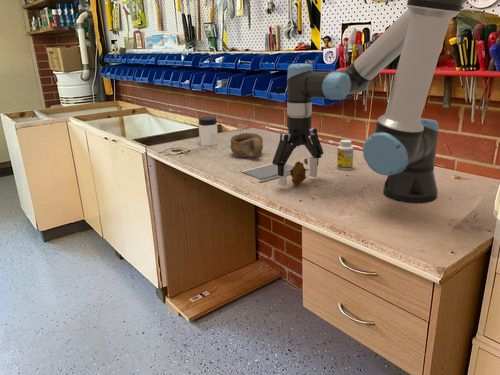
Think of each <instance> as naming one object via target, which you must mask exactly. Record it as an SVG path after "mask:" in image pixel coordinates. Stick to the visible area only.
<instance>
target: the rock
mask: <svg viewBox="0 0 500 375" xmlns="http://www.w3.org/2000/svg"><path fill="white" fill-rule="evenodd" d="M304 165H309V163H308V158H305V159H304V160H303V162H300V161H296V162H295V163H294V165H293V166H294V167H293V168H292V170H290V172H289V173H291V174H290V175H289V176H291V177H292V178H291V182H292V184H294V185H295V186H297V187H299V186H300V185H301V184H302V182H303V181H304V180H306V179H307V177H306V171H307V170H305V169H306V167H304Z"/></svg>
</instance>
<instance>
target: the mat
mask: <svg viewBox="0 0 500 375" xmlns="http://www.w3.org/2000/svg"><path fill="white" fill-rule="evenodd" d="M285 166H287V173H290V170H292V168H293V167H294V166H295V165H290V164H287V163H286V164H285ZM239 173H242V174H244V175H247V176H249V177H253V178H256V179H259V181H262V180H265V179H269V178H273V177H276V176H278V166H277V165H274V164H272V162H271V163H268V164H263V165H259V166H256V167H251V168H247V169H244V170H240V172H239Z"/></svg>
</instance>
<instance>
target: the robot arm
mask: <svg viewBox="0 0 500 375" xmlns="http://www.w3.org/2000/svg"><path fill="white" fill-rule="evenodd" d="M467 1H468V0H407V1H406V7H407V9H406V10H405V11H404V12H403V13H402V14H401V15H400V16H398V18H397V19H396V20H395V21H394V22H393V23H392V24H391V25H390V26H389V27H388V28H387V29H385V31H384V32H382V34H381V35H379V37H378V38H376V40H374V42H373V43H371V45H369V46H368V47H367V48H366V49H365V50H364V51H363V52H362V53H361V54H360V55H359V56H358V57H357V58H356V59H355V60H354V61H353V62H352V63H351V64H350V65H348V67H347V68H345V69H340V70H332V71H315V70H314V69H313V65H312V63H292V64H290V65H288V67H287V73H286V74H287V77H286V85H287V86H286V87H287V88H286V90H287V99H286V100H287V101H286V102H287V104H286V105H287V107H286V108H287V109H286V110H287V112H286V113H287V117H286V120H287V121H286V128H287V129H288V133H280V136H279V143H278V144H277V147H276V150H275V154H274V156H273V159H272V162H271V163H272V164H274V165H277V166H278V175H277V176H279V178H278V184H279V186H283V187H287V186H288V184H287V183H288V176H287V166H285V164H287V162H288V160H289V159H290V157H291V155H292V153H293V151H294V150H295V149H296V148H297V147H300V146H304V147H305V148H306V150H307V151H308V152H309V154H310V155H311V156H309V176H310V177H313V178H315V179H316V178H318V167H319V159H321V158H322V156H323V155H324V150H323V147H322V144H321V141H320V139H319V136H318V129H317V128H314V127H312V116H311V115H313V114H312V110H313V106H312V105H313V98H316V99H326V100H331V101H334V100H337V101H338V100H340V101H342V100H345V99H346V98H347V96H349V95H355V94H359V93H361V92H364V91H365V90H366V89H368V87H369V86H370V82H371V81H372V80H373V79H374V78H375V77H377V75H378V74H379V73H380V72H382V71H383V70H384V69H385V68H386V67H387V66H389V65H390V64H391V63H392V62H393V61H394V60H396V58H398V57H399V60H398V63H397V67H396V72H395V75H394V79H393V83H392V86H391V90H390V94H389V98H388V101H387V106H386V110H385V112H384V114H382V115H381V116H379V117H378V118H377V119H376V120H377V121H376V124H375V128H374V131H373V134H371V135H369V136H368V137H367V138H366V140H365V142H364V144H363V148H362V154H363V158H364V161H365V163H366V164H367V166H368V167H369V169H371V170H372V171H373V172H374V173H377V174H379V175H382V176H387V177H386V180H385V182H384V185H383V190H382V191H383V192H382V193H383V195H384V196H385V197H386V198H388V199H390V200H392V201H396V202H398V203H406V204H417V205H418V204H428V203H431V202H435V201H436V200H437V198H438V192H439V191H438V187H437V181H436V176H435V174H434V173H435V172H434V170H435V161H436V153H437V146H438V140H439V134H440V131H439V126H440V125H439V122H438V121H437V120H435V119H430V118H423V117H422V115H423V111H424V108H425V105H426V101H427V98H428V95H429V90H430V87H431V84H432V81H433V78H434V74H435V72H436V68H437V65H438V61H439V58H440V55H441V51H442V49H443V44H444V40H445V39H446V38H445V37H446V35H447V31H448V29H449V25H450V21H451V20H452V19H453V18H455V17H456V16H458V14H460V12H461V10H462V7H463V5H464V3H466V2H467Z"/></svg>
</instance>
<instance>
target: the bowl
mask: <svg viewBox="0 0 500 375" xmlns="http://www.w3.org/2000/svg"><path fill="white" fill-rule="evenodd" d="M263 148H264V145H263V136H261V135H259V134H258V133H252V132H251V133H249V132H244V133H240V134H235V135H233V136H232V137H231V138H230V149H231V150H230V151H231V152H232V153H233V154H234V155H236V156H238V157H241V158H259V157H260V156H261V155H262V153H263V152H262V151H263Z"/></svg>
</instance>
